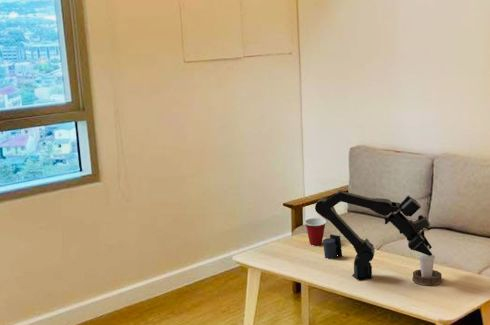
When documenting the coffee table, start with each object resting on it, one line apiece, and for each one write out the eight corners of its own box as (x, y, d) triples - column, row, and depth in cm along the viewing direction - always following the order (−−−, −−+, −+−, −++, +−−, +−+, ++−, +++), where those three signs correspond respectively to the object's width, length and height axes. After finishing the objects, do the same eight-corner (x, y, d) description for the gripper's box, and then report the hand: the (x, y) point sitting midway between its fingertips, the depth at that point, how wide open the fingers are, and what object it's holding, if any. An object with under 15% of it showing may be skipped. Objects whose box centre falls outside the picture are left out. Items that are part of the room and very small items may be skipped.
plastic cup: (303, 247, 306) (303, 223, 305) (305, 241, 317) (305, 217, 315) (326, 247, 305) (326, 223, 303) (327, 241, 315) (326, 217, 313)
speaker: (334, 253, 295) (333, 232, 292) (342, 256, 290) (341, 235, 287) (321, 257, 291) (320, 236, 289) (329, 261, 287) (327, 240, 284)
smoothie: (435, 281, 251) (435, 248, 249) (418, 281, 253) (418, 247, 250) (434, 276, 258) (434, 243, 255) (418, 275, 259) (418, 243, 257)
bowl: (422, 287, 248) (422, 280, 248) (406, 278, 259) (406, 271, 259) (448, 283, 251) (448, 276, 251) (431, 274, 262) (431, 267, 262)
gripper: (417, 216, 243) (447, 245, 242) (417, 205, 260) (445, 232, 259) (396, 235, 246) (425, 264, 245) (398, 223, 264) (425, 249, 263)
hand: (431, 251), depth 253 cm, fingers open, 9 cm apart
